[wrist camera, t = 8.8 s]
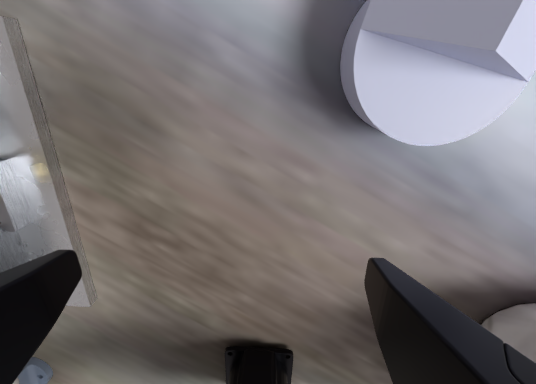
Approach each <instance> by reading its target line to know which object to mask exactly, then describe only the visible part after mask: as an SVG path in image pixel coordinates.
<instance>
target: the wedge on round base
mask: <svg viewBox="0 0 536 384" xmlns="http://www.w3.org/2000/svg"><path fill="white" fill-rule="evenodd" d="M535 71H536V0H367V1H366V2H365V3H364V4H363V5H362V7H361V8H360V10H359V11H358V13H357V14H356V16H355V17H354V19H353V21H352V23H351V25H350V27H349V29H348V32H347V34H346V37H345V40H344V44H343V47H342V53H341V60H340V74H341V82H342V86H343V91H344V93H345V96H346V98H347V101H348V102H349V104H350V106H351V108H352V109H353V110H354V111H355V113H356V114H357V115H358V116H359V117H360V118H361V119H362V120H363V121H364V122H366V123H367V124H369V125H370V126H372V127H374V128H375V129H377V130H379V131H381V132H382V133H384V134H386V135H388V136H389V137H391V138H394V139H396V140H398V141H400V142H404V143H407V144H411V145H418V146H435V145H443V144H447V143H451V142H455V141H458V140H461V139H463V138H466V137H468V136H470V135H472V134H474V133H476V132H478V131H480V130H481V129H483V128H484V127H486V126H488V125H489V124H490V123H492V122H493V121H494V120H495V119H497V118H498V117H499V116H501V115H502V114H503V113H504V112H505V111H506V110H507V109H508V108H509V107H510V106H511V105H512V103H513V102H514V101H515V100H516V99H517V98H518V96H519V95H520V94H521V92H522V91H523V89H524V88H525V87H526V85H527V84H528V82H529V80H530V79H531V77H532V76H533V74H534V72H535Z"/></svg>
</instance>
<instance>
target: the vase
mask: <svg viewBox="0 0 536 384" xmlns="http://www.w3.org/2000/svg"><path fill="white" fill-rule="evenodd" d="M481 326H483V327H484V328H485V329H487V330H488V331H490V332H491V333H493V334H494V335H496V336H497V337H498V338H500V339H501V340H502V341H503V343H507V344H509V345H510V346H512V347H513V348H514V349H516V350H517V351H519V352H520V353H522V354H523V355H525V356H526V357H527V358H529V359H530V360H532V361H533V362H535V363H536V303H532V304H521V305H516V306H513V307H510V308H507V309H504V310H501V311H498V312H496V313H495V314H493V315H492V316H490V317H489V318H487V319H486V320H485V321H484V322H483V323H482V324H481Z"/></svg>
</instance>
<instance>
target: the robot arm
mask: <svg viewBox="0 0 536 384" xmlns="http://www.w3.org/2000/svg"><path fill="white" fill-rule="evenodd" d="M81 277H82V269H81V266H80V263H79V260H78V257H77V254H76V252H75V251H74V250H64V249H60V250H56V251H54V252H51V253H49V254H46V255H44V256H41V257H39V258H36V259H33V260H31V261H28V262H26V263H23V264H21V265H18V266H16V267H13V268H11V269H8V270H6V271H3V272H0V384H13V383H14V381H15V380H16V379H17V377H18V376H19V374H20V373H21V372H22V370H23V369H24V367H25V366H26V364H27V363H28V362H29V360H30V359H31V357H32V356H33V354H34V353H35V352H36V350H37V349H38V347H39V346H40V345H41V343H42V342H43V340H44V339H45V337H46V336H47V335H48V333H49V332H50V330H51V329H52V327H53V326H54V324H55V323H56V321H57V319H58V318H59V316H60V314H61V312H62V311H63V309H64V307H65V306H66V304H67V302H68V300H69V299H70V297H71V295H72V293H73V292H74V290H75V288H76V287H77V285H78V283H79V281H80V280H81ZM365 290H366V294H367V298H368V302H369V307H370V311H371V315H372V319H373V324H374V328H375V332H376V336H377V339H378V342H379V345H380V348H381V351H382V354H383V356H384V359H385V362H386V365H387V368H388V371H389V373H390V376H391V379H392V382H393V384H536V363H535V362H533V361H532V360H530V359H529V358H527V357H526V356H525V355H523V354H522V353H520V352H519V351H517V350H516V349H514V348H513V347H512V346H510V345H509V344H507V343H503V341H502V340H501V339H500V338H498V337H497V336H496V335H494V334H493V333H491V332H490V331H488V330H487V329H485V328H484V327H483V326H481V325H480V324H478V323H477V322H475V321H474V320H472V319H471V318H470V317H468V316H467V315H465V314H464V313H462V312H461V311H459V310H458V309H457V308H455V307H454V306H452V305H451V304H449V303H448V302H446V301H445V300H444V299H442V298H441V297H439V296H438V295H436V294H435V293H433V292H432V291H431V290H429V289H428V288H426V287H425V286H423V285H422V284H420V283H419V282H418V281H416V280H415V279H413V278H412V277H410V276H409V275H407V274H406V273H405V272H403V271H402V270H400V269H399V268H397V267H396V266H394V265H393V264H392V263H390V262H389V261H387V260H386V259H384V258H370V259H369V260H368V264H367V269H366V275H365ZM225 365H226V383H227V384H291V376H292V365H293V352H292V351H291V350H289V349H270V348H251V347H232V346H230V347H227V348H226V351H225Z"/></svg>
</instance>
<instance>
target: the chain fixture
mask: <svg viewBox="0 0 536 384" xmlns="http://www.w3.org/2000/svg"><path fill="white" fill-rule="evenodd" d="M60 249H64V250H74V251H75V252H76V254H77V257H78V260H79V263H80V266H81V269H82V277H81V280H80V281H79V283H78V285H77V287H76V288H75V290H74V292H73V293H72V295H71V297H70V299H69V300H68V302H67V304H66V306H83V307H91V306H92V304H93V303H94V302H95V301H96V299H97V295H96V292H95V289H94V285H93V282H92V278H91V275H90V271H89V268H88V264H87V261H86V257H85V254H84V250H83V247H82V243H81V240H80V236H79V233H78V229H77V226H76V222H75V219H74V216H73V212H72V209H71V205H70V202H69V198H68V195H67V191H66V188H65V184H64V181H63V177H62V174H61V170H60V167H59V163H58V160H57V156H56V153H55V149H54V146H53V143H52V139H51V136H50V132H49V129H48V125H47V122H46V118H45V115H44V111H43V108H42V104H41V101H40V97H39V94H38V90H37V87H36V83H35V80H34V76H33V73H32V70H31V66H30V63H29V59H28V56H27V52H26V49H25V45H24V42H23V38H22V35H21V31H20V28H19V24H18V21H17V19H13V18H9V17H4V16H0V272H3V271H6V270H8V269H11V268H13V267H16V266H18V265H21V264H23V263H26V262H28V261H31V260H33V259H36V258H39V257H41V256H44V255H46V254H49V253H51V252H54V251H56V250H60Z"/></svg>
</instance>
